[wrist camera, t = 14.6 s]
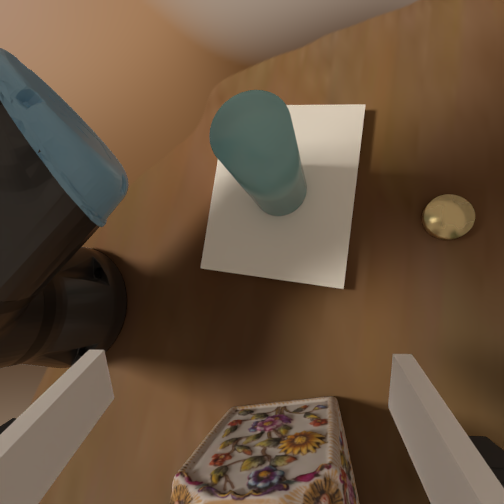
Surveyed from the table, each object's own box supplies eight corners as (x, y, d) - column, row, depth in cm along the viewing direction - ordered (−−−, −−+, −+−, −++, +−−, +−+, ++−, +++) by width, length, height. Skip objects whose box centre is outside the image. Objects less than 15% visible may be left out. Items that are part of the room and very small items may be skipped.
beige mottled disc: (429, 245, 31) (433, 243, 30) (414, 205, 32) (418, 202, 30) (476, 233, 30) (482, 230, 29) (460, 192, 31) (465, 188, 30)
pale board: (204, 268, 36) (200, 268, 35) (229, 111, 38) (226, 105, 37) (343, 289, 32) (343, 288, 31) (364, 110, 34) (365, 104, 33)
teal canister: (250, 214, 34) (203, 168, 22) (257, 163, 35) (216, 91, 22) (303, 218, 33) (285, 171, 20) (310, 165, 33) (296, 88, 21)
